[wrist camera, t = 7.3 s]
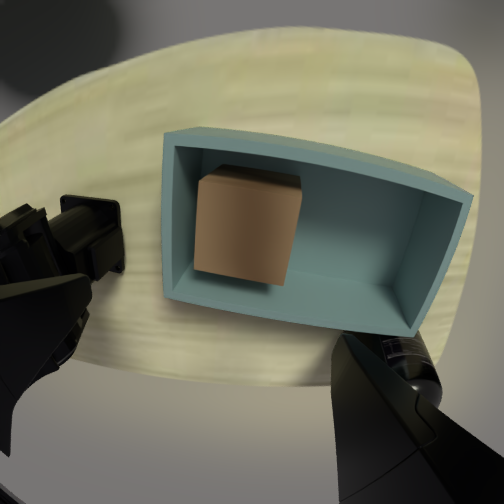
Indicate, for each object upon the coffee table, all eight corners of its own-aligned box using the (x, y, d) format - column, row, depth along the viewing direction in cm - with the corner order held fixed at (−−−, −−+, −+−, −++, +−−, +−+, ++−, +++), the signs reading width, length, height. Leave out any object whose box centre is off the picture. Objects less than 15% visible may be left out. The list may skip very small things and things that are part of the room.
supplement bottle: (395, 360, 25) (419, 467, 14) (331, 354, 25) (337, 474, 14) (425, 305, 21) (475, 420, 11) (355, 295, 22) (383, 429, 11)
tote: (191, 255, 22) (163, 297, 17) (199, 126, 18) (164, 133, 13) (393, 290, 21) (413, 337, 16) (432, 172, 17) (473, 195, 12)
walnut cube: (215, 233, 20) (193, 269, 16) (222, 163, 18) (198, 181, 14) (286, 246, 20) (283, 286, 16) (300, 176, 18) (302, 197, 13)
